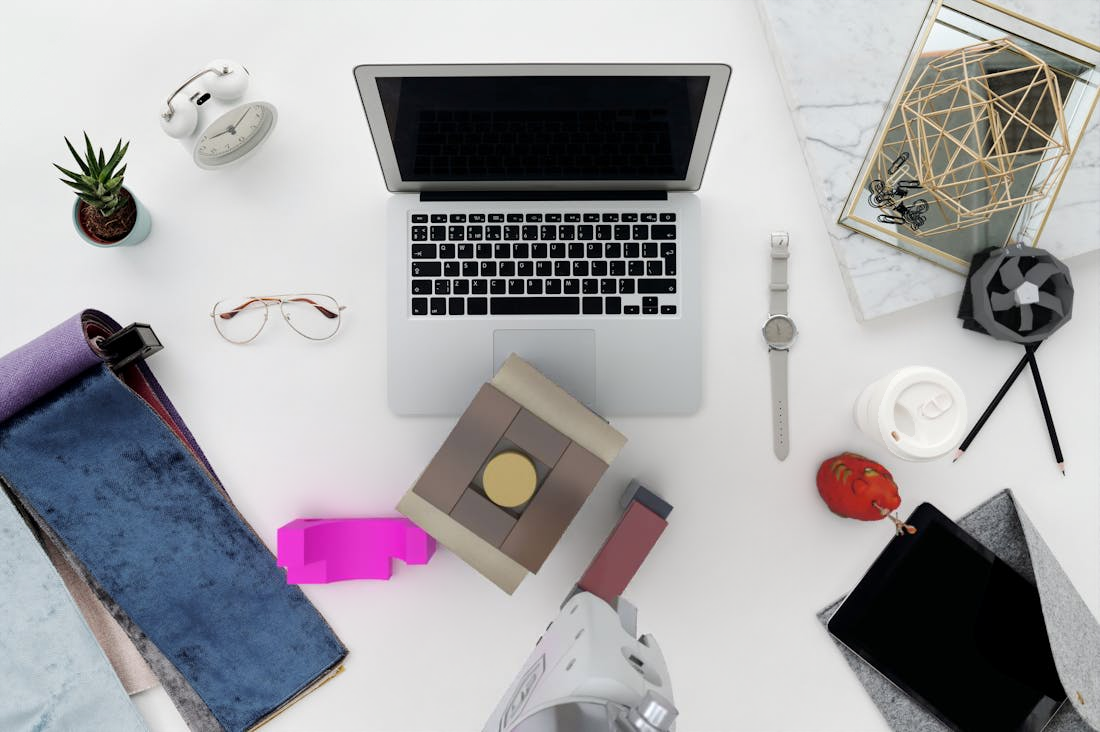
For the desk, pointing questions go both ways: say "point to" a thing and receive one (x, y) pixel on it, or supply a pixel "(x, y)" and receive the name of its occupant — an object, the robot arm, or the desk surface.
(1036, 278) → the cpu cooler
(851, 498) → the red clay folk toy
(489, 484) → the button
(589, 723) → the robot arm
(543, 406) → the interlocking block puzzle
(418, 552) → the toy block
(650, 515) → the bar
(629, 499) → the dark blue-grey long block
